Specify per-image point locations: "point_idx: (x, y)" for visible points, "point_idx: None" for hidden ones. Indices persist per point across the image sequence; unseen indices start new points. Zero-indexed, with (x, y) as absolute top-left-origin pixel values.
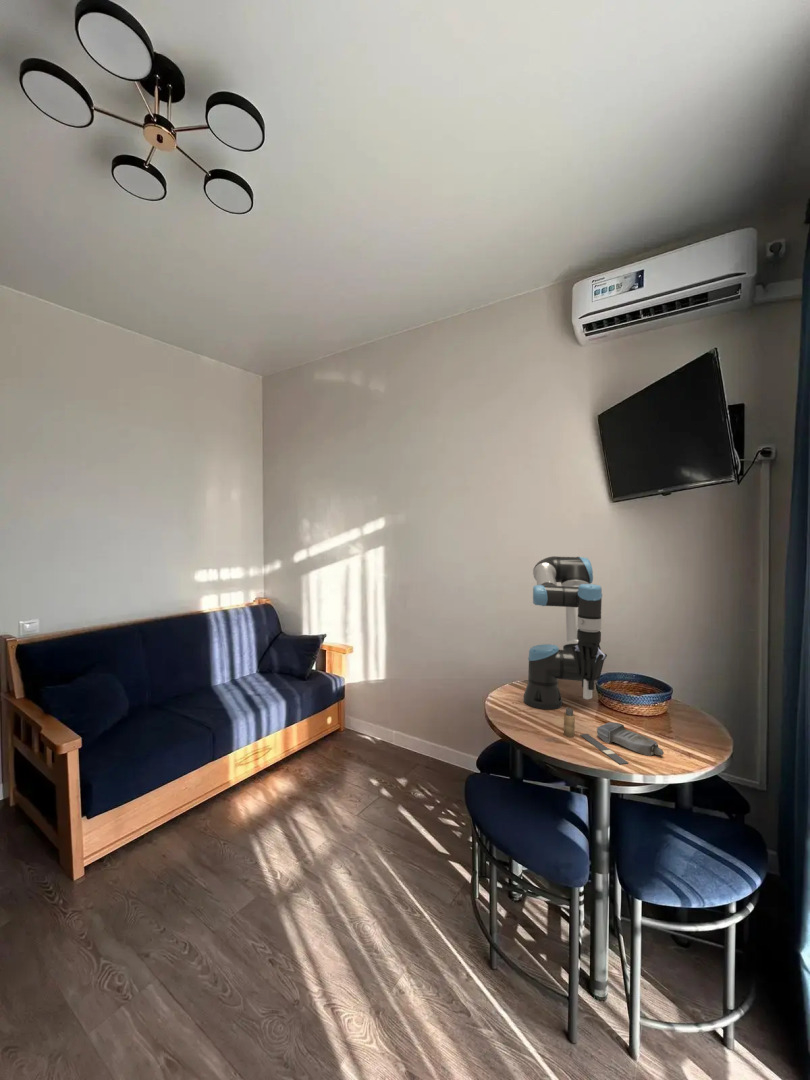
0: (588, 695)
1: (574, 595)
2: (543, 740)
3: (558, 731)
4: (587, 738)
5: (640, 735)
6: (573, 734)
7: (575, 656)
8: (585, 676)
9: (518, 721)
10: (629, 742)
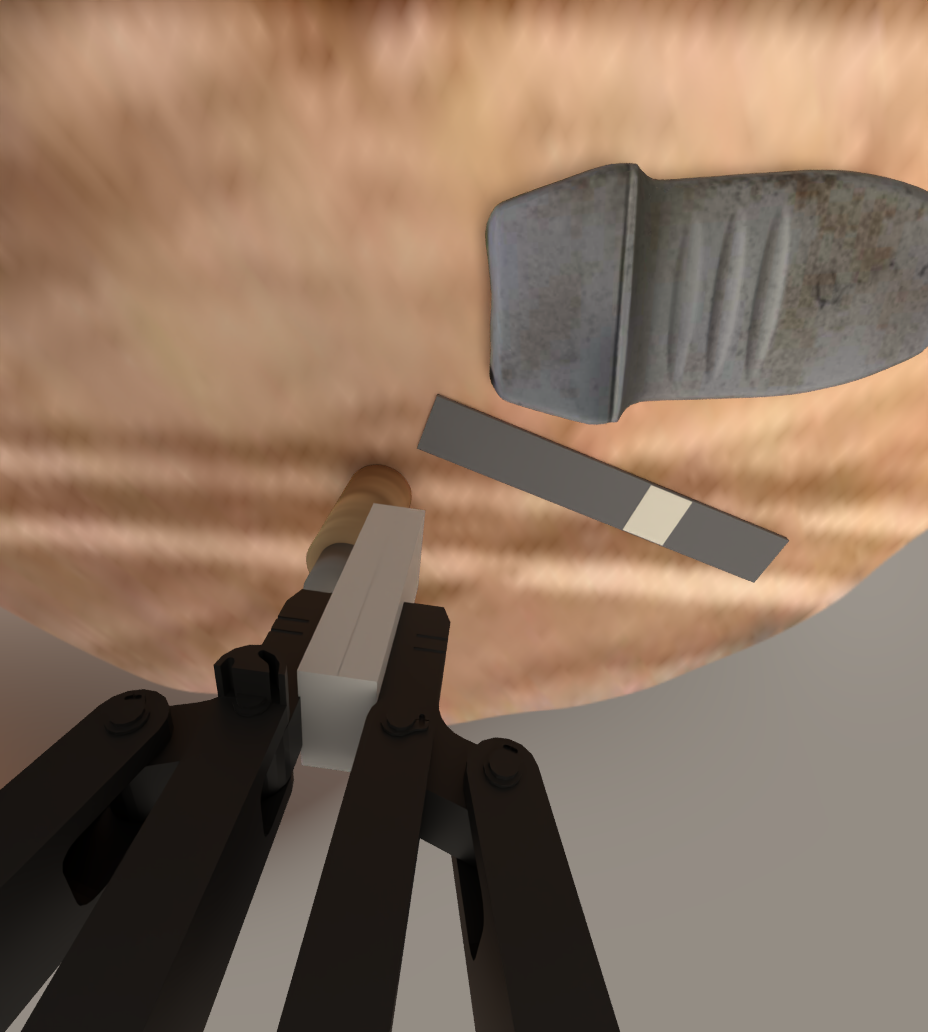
0: (413, 588)
1: None
2: None
3: (314, 502)
4: (480, 458)
5: (814, 214)
6: (409, 502)
7: None
8: (285, 773)
9: (116, 571)
10: (761, 396)
